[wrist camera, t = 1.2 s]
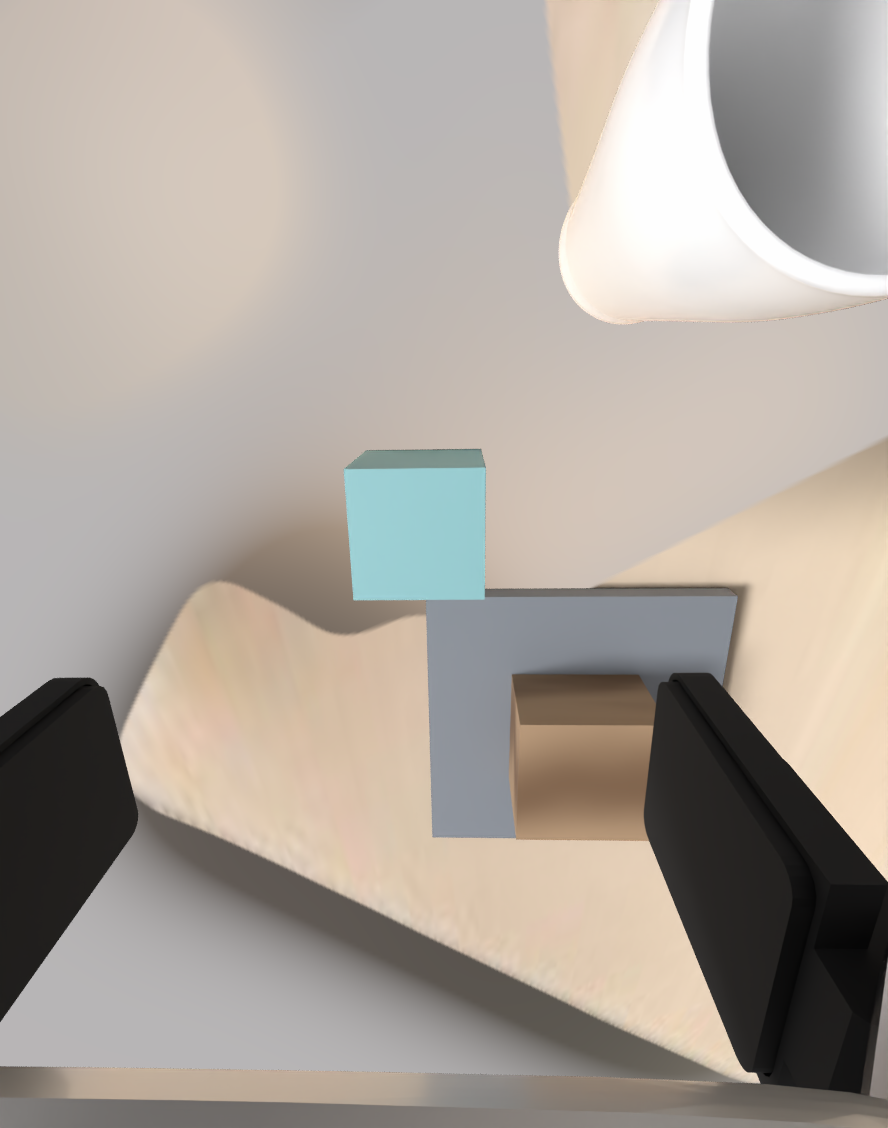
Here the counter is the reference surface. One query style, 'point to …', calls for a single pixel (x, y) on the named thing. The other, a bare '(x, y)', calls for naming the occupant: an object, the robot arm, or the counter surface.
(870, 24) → the white cup
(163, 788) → the counter surface
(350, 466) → the teal block
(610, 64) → the counter surface
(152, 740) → the counter surface
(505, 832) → the plate
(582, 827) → the walnut base
